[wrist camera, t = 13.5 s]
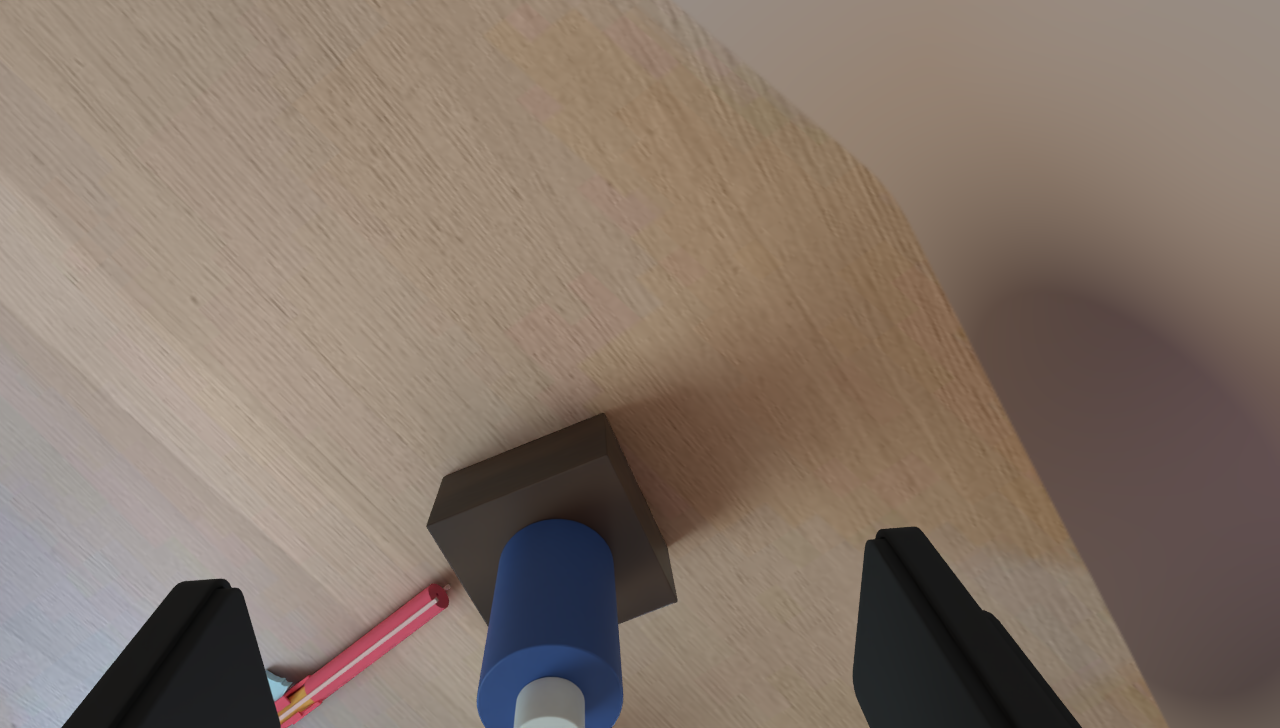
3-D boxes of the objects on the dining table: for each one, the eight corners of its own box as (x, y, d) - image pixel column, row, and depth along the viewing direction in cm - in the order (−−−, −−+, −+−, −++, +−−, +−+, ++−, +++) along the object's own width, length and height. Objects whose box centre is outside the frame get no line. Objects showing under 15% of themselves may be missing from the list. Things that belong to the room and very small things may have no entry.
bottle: (493, 522, 37) (460, 691, 27) (611, 514, 37) (623, 676, 27) (505, 617, 39) (478, 806, 29) (616, 608, 39) (629, 792, 29)
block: (442, 476, 41) (425, 526, 37) (604, 412, 41) (607, 454, 36) (518, 605, 45) (511, 665, 40) (667, 548, 44) (678, 602, 39)
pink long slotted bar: (158, 753, 48) (202, 808, 48) (131, 775, 46) (178, 832, 46) (421, 549, 44) (469, 609, 44) (405, 562, 42) (456, 625, 42)
